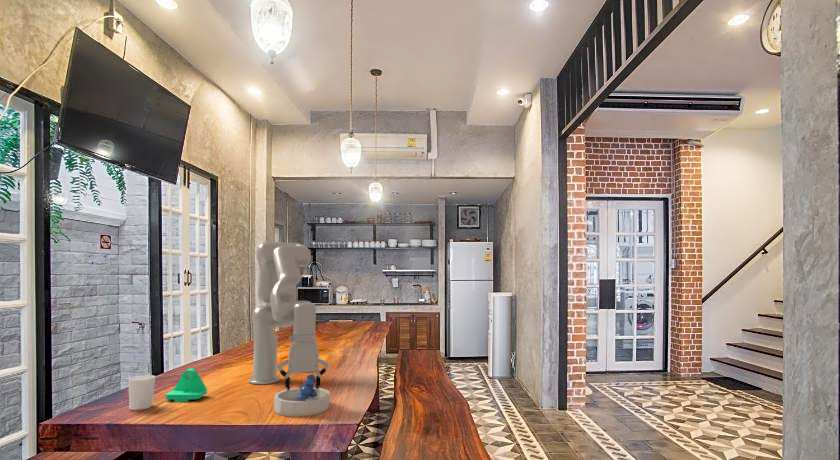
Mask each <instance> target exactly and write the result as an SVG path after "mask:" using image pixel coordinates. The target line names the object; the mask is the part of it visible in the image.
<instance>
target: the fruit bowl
mask: <svg viewBox="0 0 840 460" xmlns="http://www.w3.org/2000/svg"><path fill="white" fill-rule="evenodd" d="M313 389H315V390H316V391H317V396H315V397H310V396H309V398H308V399H306V401H296V399H297V395H299V394H300V392H301V391H300V387H295V388H290V389H289V391H287V389H284V390H281V391H279V392H277V393H275V394H274V397H273V398H274V399H273V411H274V413H275V414H276V415H279V416H283V417H290V418H299V417H300V418H302V417H312V416H316V415H319V414H323V413H325V412H327V411H328V410H329V409H330V405H331V404H330V403H331V401H330V400H331V399H330V398H331V394H330V391H329V390H327V389H325V388H320V387H318V389H316V387H314V388H313Z"/></svg>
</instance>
